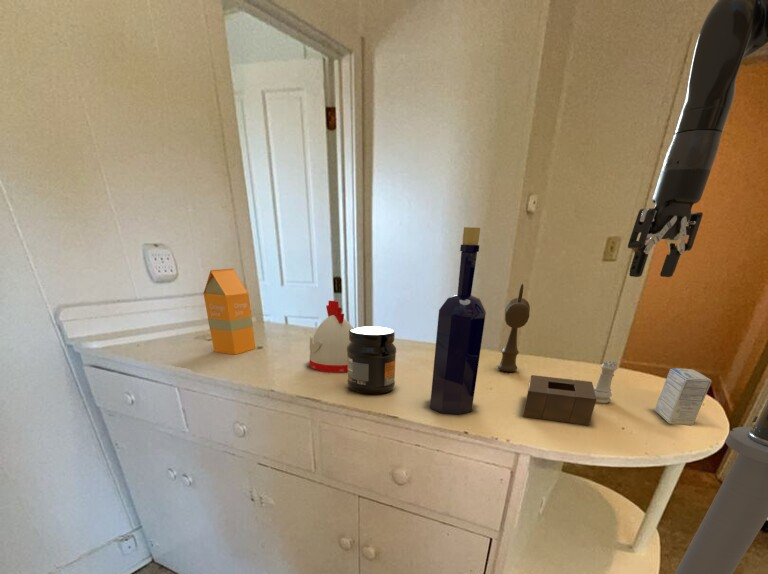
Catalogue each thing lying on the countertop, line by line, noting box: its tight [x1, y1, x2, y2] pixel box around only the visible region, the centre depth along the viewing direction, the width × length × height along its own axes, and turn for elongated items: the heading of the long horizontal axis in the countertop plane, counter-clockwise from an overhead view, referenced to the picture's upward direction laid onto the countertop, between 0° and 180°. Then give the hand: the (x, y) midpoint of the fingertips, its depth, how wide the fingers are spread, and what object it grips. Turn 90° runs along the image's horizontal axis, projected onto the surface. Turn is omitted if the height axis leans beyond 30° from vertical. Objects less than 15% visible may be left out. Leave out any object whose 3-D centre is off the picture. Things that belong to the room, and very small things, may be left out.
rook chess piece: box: [593, 360, 618, 404], centre depth 89 cm, size 4×4×8 cm
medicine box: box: [654, 367, 712, 427], centre depth 81 cm, size 8×4×9 cm, turn 170°
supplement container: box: [347, 326, 397, 395], centre depth 91 cm, size 10×10×12 cm
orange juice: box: [202, 268, 256, 356], centre depth 115 cm, size 8×9×20 cm
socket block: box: [522, 374, 597, 426], centre depth 84 cm, size 12×12×5 cm
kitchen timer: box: [309, 300, 354, 373], centre depth 106 cm, size 14×14×15 cm
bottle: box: [428, 226, 487, 416], centre depth 77 cm, size 9×9×30 cm
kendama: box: [497, 283, 531, 373], centre depth 105 cm, size 6×10×20 cm, turn 165°
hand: (650, 276), depth 82 cm, fingers open, 8 cm apart
